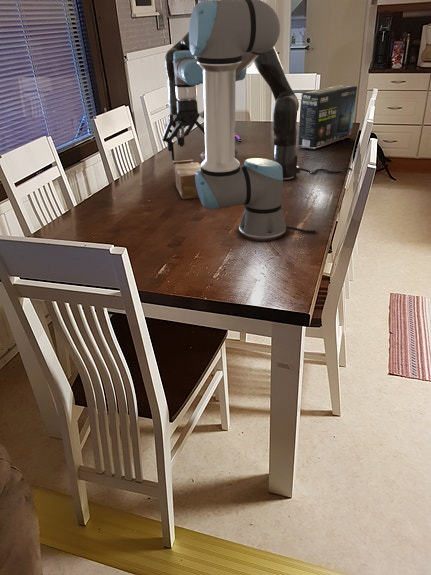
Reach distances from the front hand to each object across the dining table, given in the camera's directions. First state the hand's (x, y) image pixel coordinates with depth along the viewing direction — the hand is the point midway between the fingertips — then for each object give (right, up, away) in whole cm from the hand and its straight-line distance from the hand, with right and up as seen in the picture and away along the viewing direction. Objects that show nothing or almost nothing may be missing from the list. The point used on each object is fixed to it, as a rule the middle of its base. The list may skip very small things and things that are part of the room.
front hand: (190, 157), depth 176 cm
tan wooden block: (0, -11, +10) cm, 15 cm away
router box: (+68, +27, +68) cm, 100 cm away
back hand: (-5, +11, +20) cm, 23 cm away
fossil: (+11, +13, +49) cm, 52 cm away
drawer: (-3, -4, +20) cm, 20 cm away
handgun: (+19, +35, +85) cm, 94 cm away
